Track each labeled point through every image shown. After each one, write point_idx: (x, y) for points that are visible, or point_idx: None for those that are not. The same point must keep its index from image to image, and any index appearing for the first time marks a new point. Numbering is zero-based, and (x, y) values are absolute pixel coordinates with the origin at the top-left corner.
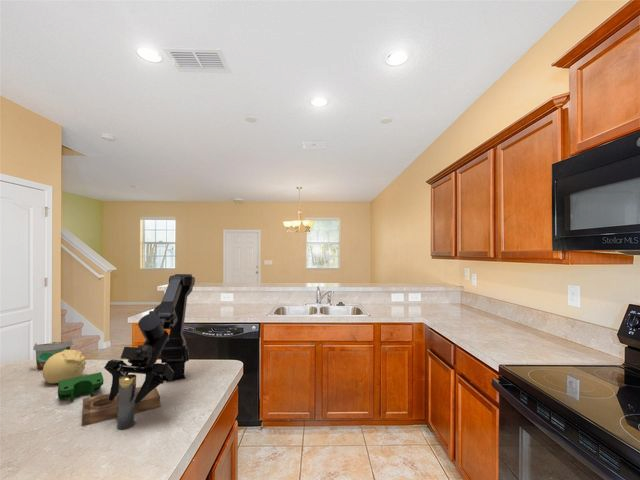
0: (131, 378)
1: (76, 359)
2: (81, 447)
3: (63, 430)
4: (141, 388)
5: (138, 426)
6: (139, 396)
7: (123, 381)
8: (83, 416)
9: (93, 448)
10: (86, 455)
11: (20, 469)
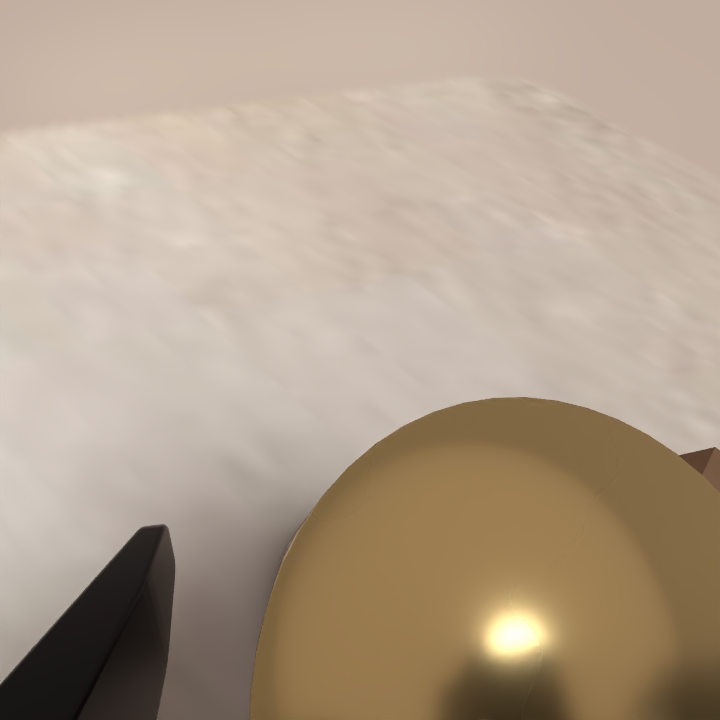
0: (305, 620)
1: None
2: (399, 276)
3: (693, 386)
4: (56, 705)
5: (224, 605)
6: (90, 589)
7: (444, 421)
8: (698, 455)
9: (318, 283)
10: (296, 226)
11: (497, 99)
